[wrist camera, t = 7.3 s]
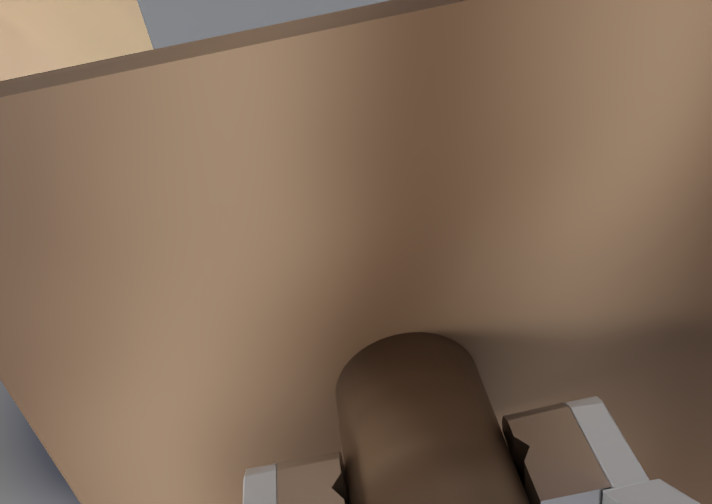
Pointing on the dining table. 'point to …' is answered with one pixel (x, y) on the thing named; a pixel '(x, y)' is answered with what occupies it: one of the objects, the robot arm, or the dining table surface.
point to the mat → (227, 16)
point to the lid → (364, 248)
